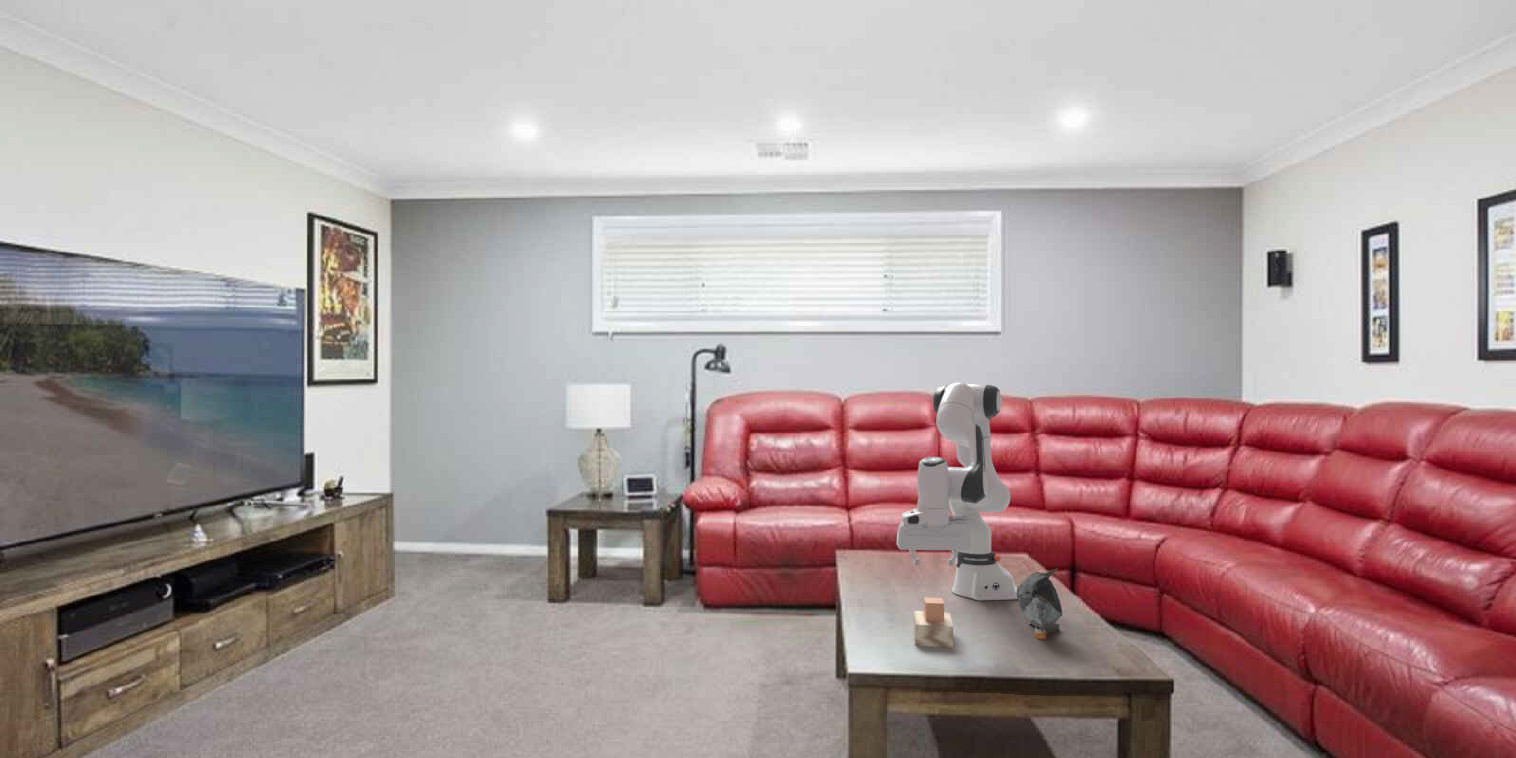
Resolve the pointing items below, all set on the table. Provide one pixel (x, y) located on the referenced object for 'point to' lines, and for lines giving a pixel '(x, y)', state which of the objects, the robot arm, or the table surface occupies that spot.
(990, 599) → the robot arm
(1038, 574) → the grey faceted figure
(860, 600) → the table surface
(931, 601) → the terracotta cube
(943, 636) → the birch block
